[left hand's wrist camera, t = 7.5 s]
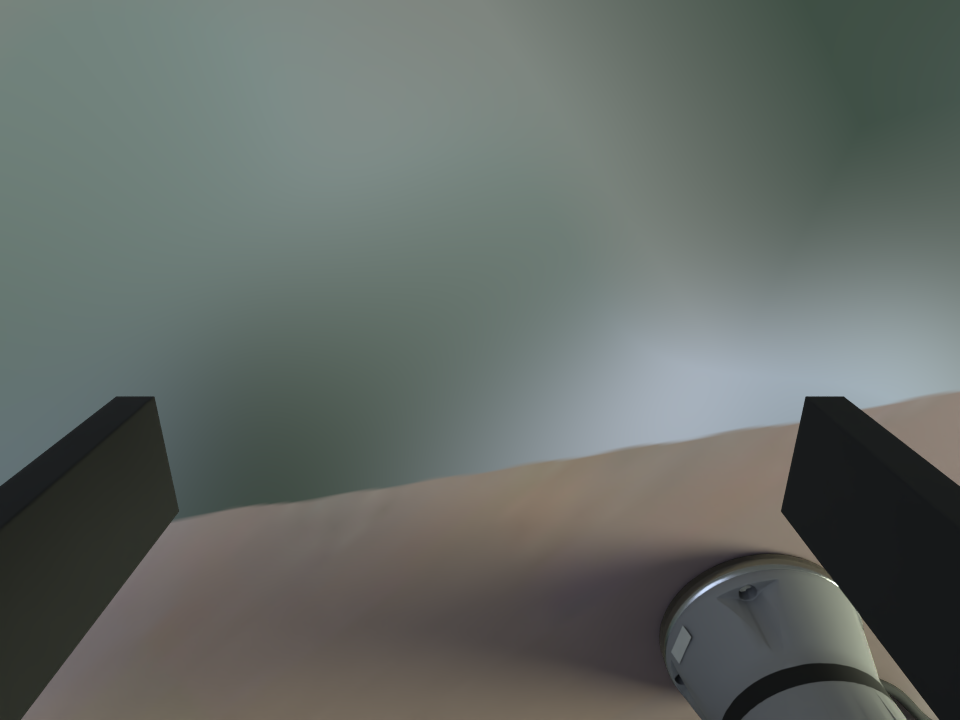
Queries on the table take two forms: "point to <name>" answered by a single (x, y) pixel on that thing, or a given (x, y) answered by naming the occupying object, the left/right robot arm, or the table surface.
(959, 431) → the table surface
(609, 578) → the table surface
